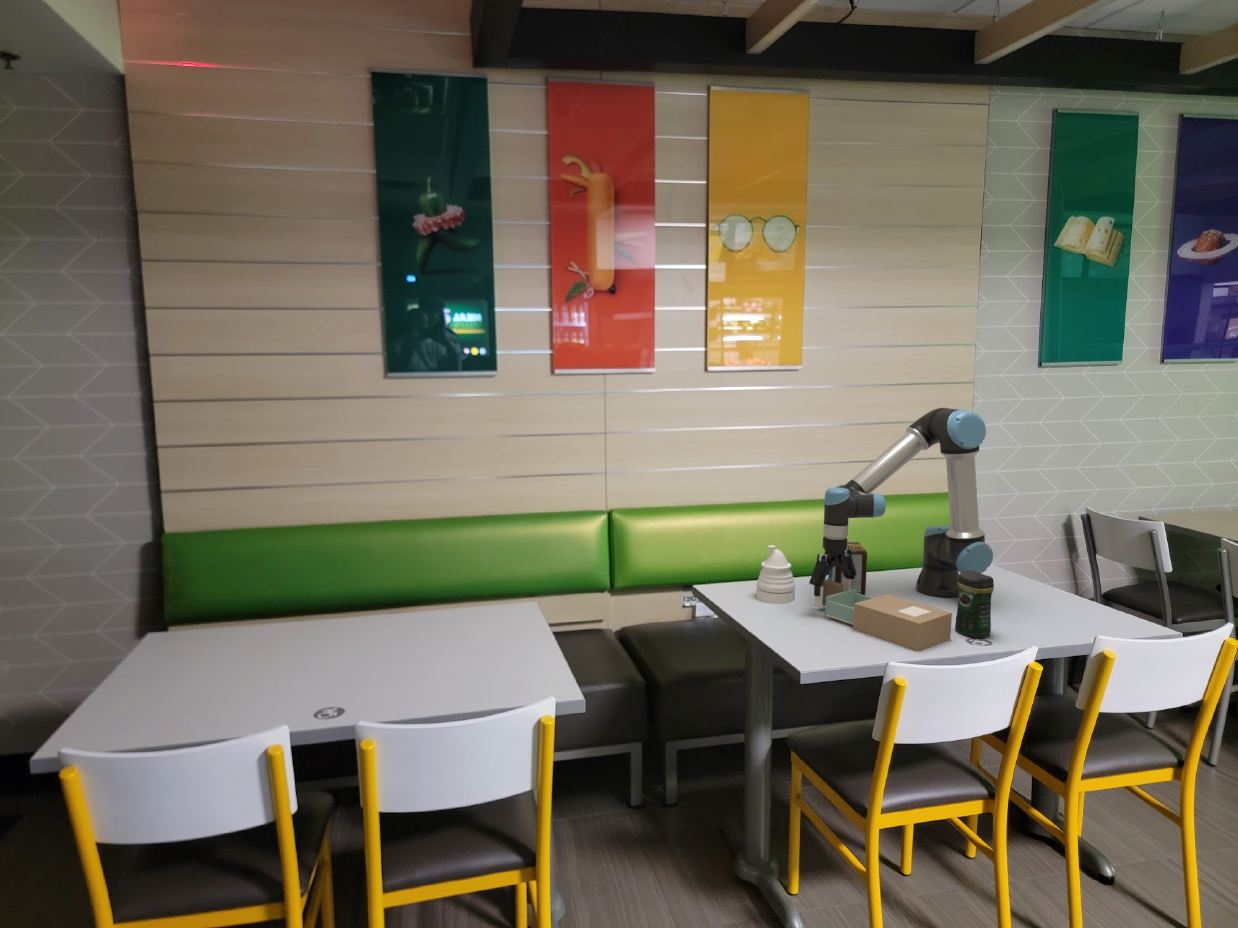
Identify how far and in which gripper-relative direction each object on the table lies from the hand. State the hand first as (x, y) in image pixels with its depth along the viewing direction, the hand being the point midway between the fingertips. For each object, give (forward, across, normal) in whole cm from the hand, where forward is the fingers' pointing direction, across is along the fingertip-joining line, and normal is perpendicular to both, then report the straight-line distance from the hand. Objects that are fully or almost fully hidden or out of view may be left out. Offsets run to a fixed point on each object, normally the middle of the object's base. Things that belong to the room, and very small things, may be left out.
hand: (832, 601), depth 259 cm
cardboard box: (+3, 0, +25) cm, 26 cm away
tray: (+2, 0, +10) cm, 10 cm away
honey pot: (+3, +4, -21) cm, 21 cm away
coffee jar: (+3, -18, +37) cm, 42 cm away
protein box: (+3, -23, -13) cm, 26 cm away
